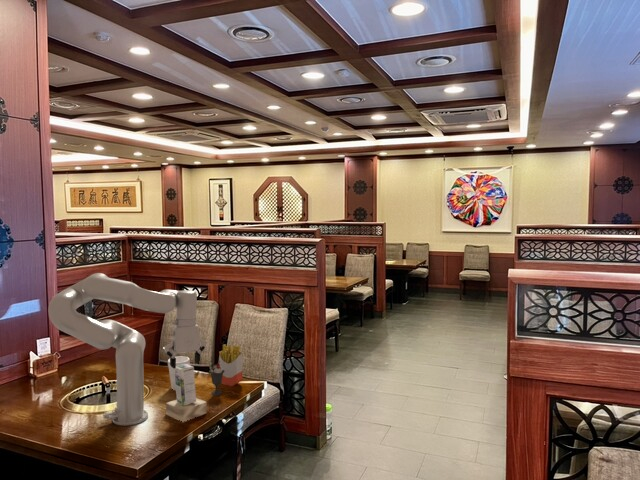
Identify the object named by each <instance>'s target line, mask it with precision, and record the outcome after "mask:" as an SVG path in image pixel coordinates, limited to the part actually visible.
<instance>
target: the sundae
mask: <svg viewBox="0 0 640 480" xmlns="http://www.w3.org/2000/svg"><path fill="white" fill-rule="evenodd" d="M219 362H220V361H219V360H218V362H217V364H213V367H212V369H210V370H209V371H208V372H209V374H210V377H211V382H212V384H213V386H214V387H215V389H214V391H212V392H211V393H210V395H211V396H220V395H223V391H221V390H219V386H220V385H221V384H222V376H223V373H224V372H225V370H223V369H222V368H221V366H220V364H219Z"/></svg>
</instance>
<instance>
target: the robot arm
mask: <svg viewBox="0 0 640 480" xmlns="http://www.w3.org/2000/svg"><path fill="white" fill-rule="evenodd" d="M197 295H198V294H197V292H196V291H194V290H191V289H190V290H188V289H187V290H185V289H184V290H176V289H163V290H161V291H159V292H158V291H153V290H148V289H146V288H142V287H140V286H139V285H137V284H136V283H134V282H132V281H127V280H123V279H117V278H113V277H112V278H111V277H108V275H106V274H104V273H102V272H97V273H92V274H91V275H89V276H88V277H85V278H84V279H82V280H80V281H79V282H76V283H75V284H73V285H71V286H68V287H66V288H65V289H63V290H62V291H60V292H58V293H56V294H55V295H53V297H52V298H51V300H50V302H49V304H48V307H47V308H48V309H47V310H48V318H49V321H50V322H51V323H52V325H53V326H54V327H55V328H57V329H58V330H59V331H61V332H63V333H65V334H67V335H70V336H71V337H74V338H76V339H77V340H80V341H81V342H84V343H86V344H88V345H90V346H92V347H94V348H96V349H98V350H101V351H102V350H108V349H110V348H111V347H112V348H115V365H116V366H115V367H116V407H114V410H112V411H111V412H105V413H103V414H102V415H103V416H102V417H103V419H104V420H106V419H108V420H112V423H113V424H115V425H117V426H133V425H137V424H141V423H142V422H144V421H146V420H147V419H148V416H149V413H148V411H147V410H145V409H144V407H145V405H144V404H145V403H144V399H145V398H144V393H145V391H144V388H145V385H144V383H145V382H144V381H145V380H144V377H145V376H144V374H145V373H144V351H145V348H146V339H145V337H144V335H143V334H142V333H141V332H139V331H137V330H135V329H134V328H131V327H129V326H127V325H125V324H123V323H121V322H118V321H116V320H113V319H103V320H100V321H99V320H97V319H95V318H94V319H93V318H92V317H91V316H89V315H86V314H83V313H79V312H78V311H77V309H79V307H81V306H83V305H85V304H87V303H88V302H91V301H92V300H94V299H95V300H101V301H106V302H113V303H117V304H121V305H126V306H129V307H132V308H136V309H140V310H142V311H147V312H151V313H158V314H168V313H171V312H172V311H174V309H175V308H176V310H175V311H176V312H175V313H176V314H175V315H176V317H175V320H173V321H172V324H173V325H175V326H174V327H173V331H172V339H171V341H170V342H169V343H168V344H166V345H164V346H163V348H162V349H163V351H164V352H165V354H166V355H167V356H168V357H169V359H170V366H171V367H172V368H176V358H175V357H177V356H178V355H177V354H186V353H191V352H194V363H195V364H197V365H200V362H201V355H202V353H203V351H204V350H205V348H206V346H207V344H208V341H206V340H204V339H201V334H200V333H201V332H200V327H199V324H197V304H198V303H197V301H198V300H197V299H198V296H197ZM170 349H171V352H170Z"/></svg>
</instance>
